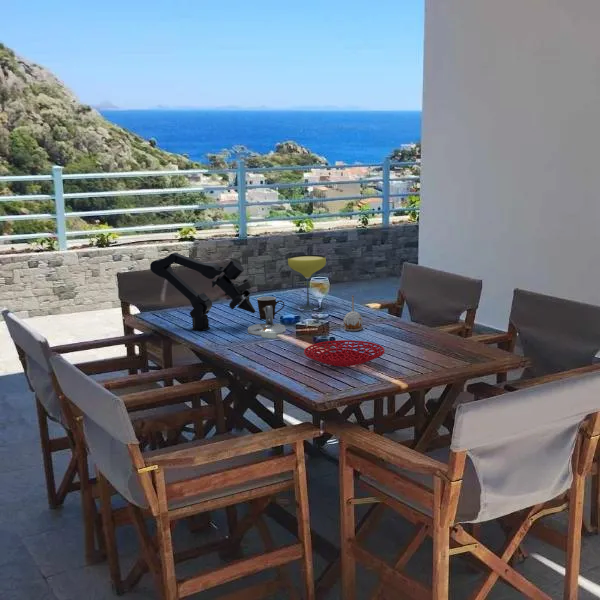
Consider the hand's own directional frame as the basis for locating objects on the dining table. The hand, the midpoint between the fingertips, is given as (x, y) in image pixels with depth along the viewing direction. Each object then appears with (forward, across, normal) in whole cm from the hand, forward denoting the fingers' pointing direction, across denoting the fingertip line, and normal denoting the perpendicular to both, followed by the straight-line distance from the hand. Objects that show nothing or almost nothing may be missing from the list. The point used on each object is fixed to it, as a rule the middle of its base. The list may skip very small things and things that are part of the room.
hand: (254, 312), depth 351 cm
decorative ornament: (+36, +4, -24) cm, 43 cm away
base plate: (+10, -5, +1) cm, 11 cm away
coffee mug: (+7, +20, +4) cm, 22 cm away
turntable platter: (+9, -5, +1) cm, 11 cm away
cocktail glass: (+17, +45, -5) cm, 48 cm away
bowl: (+38, -48, -26) cm, 66 cm away
